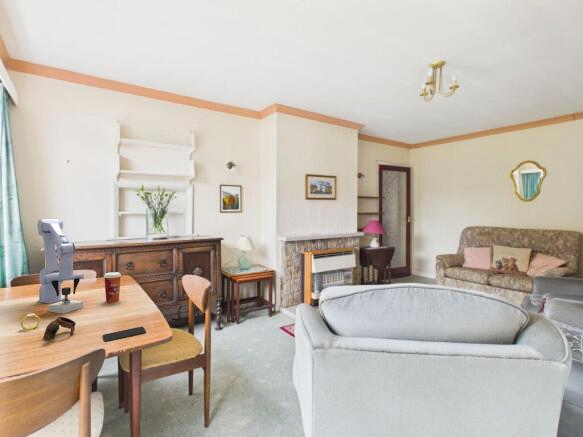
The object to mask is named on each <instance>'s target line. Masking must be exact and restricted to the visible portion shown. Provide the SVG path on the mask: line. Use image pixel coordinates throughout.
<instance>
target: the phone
mask: <svg viewBox="0 0 583 437" xmlns="http://www.w3.org/2000/svg"><path fill="white" fill-rule="evenodd" d="M146 333H147V330H146V329H145V327H144V326H137V327H133V328H128V329H124V330H123V329H122V330H119V331H115V332H108V333H104V334H102V340H103V342H105V343H107V342H108V343H109V342H113V341H116V340H121V339H125V338H126V339H127V338H130V337H136V336H140V335H144V334H146Z"/></svg>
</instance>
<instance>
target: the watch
mask: <svg viewBox="0 0 583 437" xmlns="http://www.w3.org/2000/svg"><path fill="white" fill-rule="evenodd" d="M33 317H34V318H37V323H36V324H35V325H34V326H30V327H26V326H24V325H23V322H24V320H26V319H27V318H33ZM40 323H41V319H40V316H38V315H36V313H28V314H26V316H24V317H23V318H22V320H21V321H20V327H22V329H23V330H31V329H35V328H37V327H38V326H39V324H40Z"/></svg>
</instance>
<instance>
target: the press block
mask: <svg viewBox="0 0 583 437" xmlns="http://www.w3.org/2000/svg"><path fill="white" fill-rule="evenodd" d="M68 299H69V298H68ZM69 300H70V302H67V303H64V302H62V300H61V301H57V302H54V303H49V304H48V305H47V306H48V312H50V313H57V314H66V313H69V312H72V311H75V310H80V309H82V308H84V300H75V299H69Z"/></svg>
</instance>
